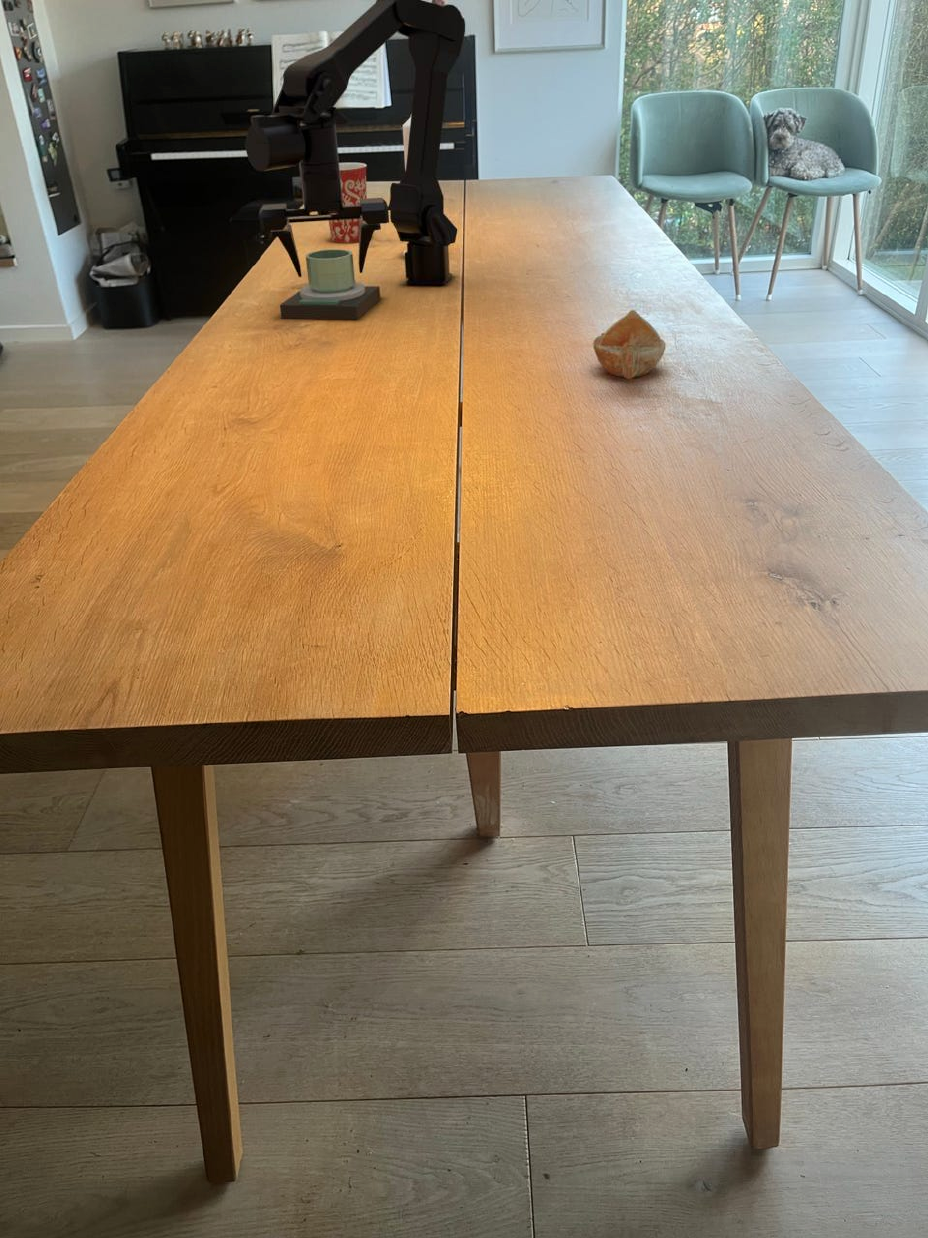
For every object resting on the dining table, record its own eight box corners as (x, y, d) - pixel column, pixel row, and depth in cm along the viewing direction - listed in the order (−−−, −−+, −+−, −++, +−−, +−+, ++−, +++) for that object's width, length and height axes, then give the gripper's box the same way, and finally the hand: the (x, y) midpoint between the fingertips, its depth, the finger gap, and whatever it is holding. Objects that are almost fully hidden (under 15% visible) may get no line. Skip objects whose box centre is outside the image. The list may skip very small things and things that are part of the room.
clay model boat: (590, 398, 113) (593, 310, 108) (594, 343, 131) (596, 265, 126) (667, 399, 112) (673, 310, 107) (660, 343, 130) (665, 265, 125)
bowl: (361, 282, 153) (358, 249, 151) (347, 294, 148) (343, 259, 145) (318, 282, 155) (314, 248, 152) (303, 293, 149) (298, 259, 146)
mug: (369, 243, 193) (363, 167, 186) (323, 244, 193) (315, 169, 186) (377, 230, 203) (371, 158, 196) (333, 231, 204) (326, 160, 197)
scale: (380, 299, 155) (379, 280, 154) (357, 319, 146) (355, 300, 144) (308, 297, 158) (306, 279, 156) (281, 318, 148) (278, 299, 147)
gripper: (380, 151, 149) (388, 259, 158) (255, 158, 148) (270, 266, 156) (385, 161, 140) (393, 274, 148) (252, 169, 138) (268, 283, 147)
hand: (330, 274), depth 150 cm, fingers open, 9 cm apart
